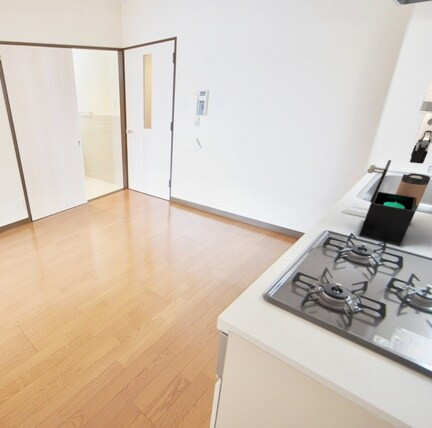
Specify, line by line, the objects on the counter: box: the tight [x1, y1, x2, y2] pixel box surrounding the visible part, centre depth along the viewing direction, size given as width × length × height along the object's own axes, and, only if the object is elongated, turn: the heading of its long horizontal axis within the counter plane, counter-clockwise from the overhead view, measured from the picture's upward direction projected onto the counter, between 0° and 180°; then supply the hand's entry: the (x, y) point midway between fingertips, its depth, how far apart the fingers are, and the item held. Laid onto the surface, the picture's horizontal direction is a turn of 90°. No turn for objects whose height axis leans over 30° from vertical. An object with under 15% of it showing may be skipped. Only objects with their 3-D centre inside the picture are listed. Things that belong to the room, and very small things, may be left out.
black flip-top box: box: [358, 190, 417, 247], centre depth 107 cm, size 12×17×14 cm
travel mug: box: [395, 172, 431, 210], centre depth 113 cm, size 8×8×20 cm
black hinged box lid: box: [366, 159, 392, 203], centre depth 106 cm, size 12×17×5 cm
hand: (416, 159), depth 97 cm, fingers open, 9 cm apart
